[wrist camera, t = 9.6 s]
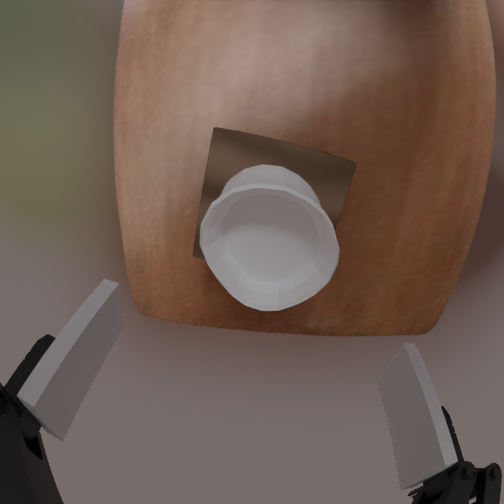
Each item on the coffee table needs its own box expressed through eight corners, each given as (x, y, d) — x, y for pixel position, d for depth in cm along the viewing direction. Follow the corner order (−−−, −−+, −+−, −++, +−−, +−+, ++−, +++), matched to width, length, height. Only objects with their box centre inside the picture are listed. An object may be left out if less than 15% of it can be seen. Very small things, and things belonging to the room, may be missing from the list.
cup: (291, 268, 30) (296, 329, 21) (206, 229, 29) (178, 279, 20) (337, 192, 26) (366, 230, 17) (244, 145, 25) (228, 159, 16)
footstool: (226, 126, 31) (213, 127, 24) (339, 154, 31) (356, 163, 24) (207, 230, 37) (192, 256, 30) (308, 253, 38) (314, 283, 31)
